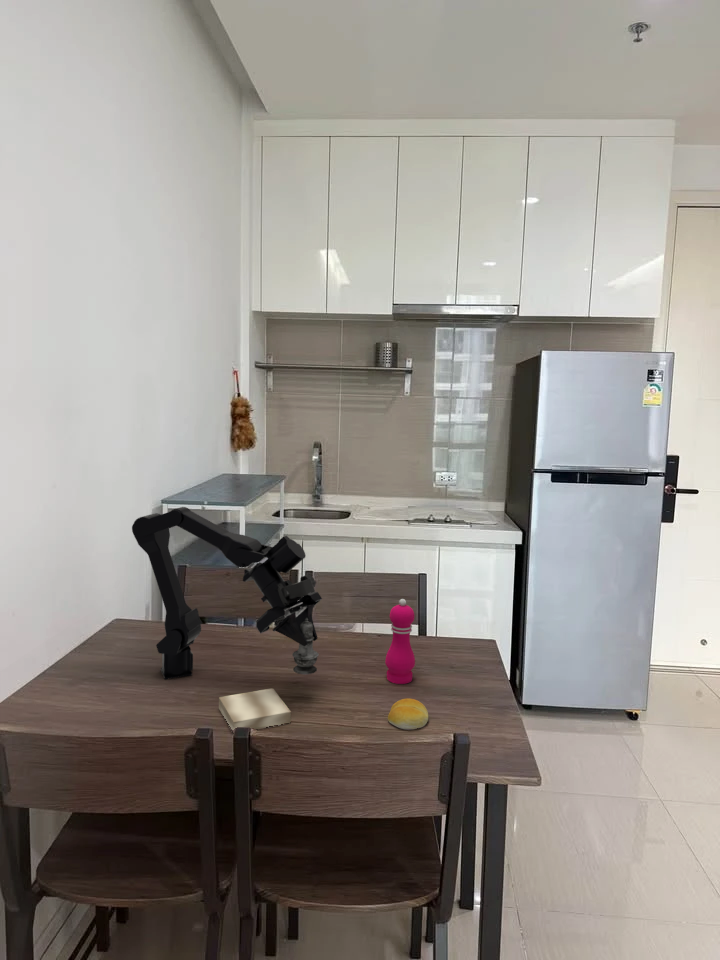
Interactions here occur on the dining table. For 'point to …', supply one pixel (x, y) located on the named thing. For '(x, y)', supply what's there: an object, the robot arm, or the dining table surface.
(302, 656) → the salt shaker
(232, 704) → the plate
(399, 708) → the bread roll
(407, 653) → the pepper mill
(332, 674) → the dining table surface
